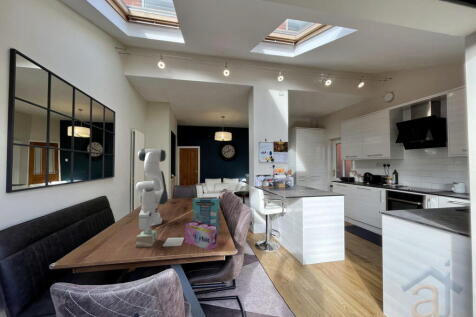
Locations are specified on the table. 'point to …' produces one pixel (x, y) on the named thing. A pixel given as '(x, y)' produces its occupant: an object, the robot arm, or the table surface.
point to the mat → (174, 242)
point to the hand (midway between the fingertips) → (147, 231)
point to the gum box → (201, 235)
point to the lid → (148, 233)
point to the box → (146, 240)
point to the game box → (206, 211)
